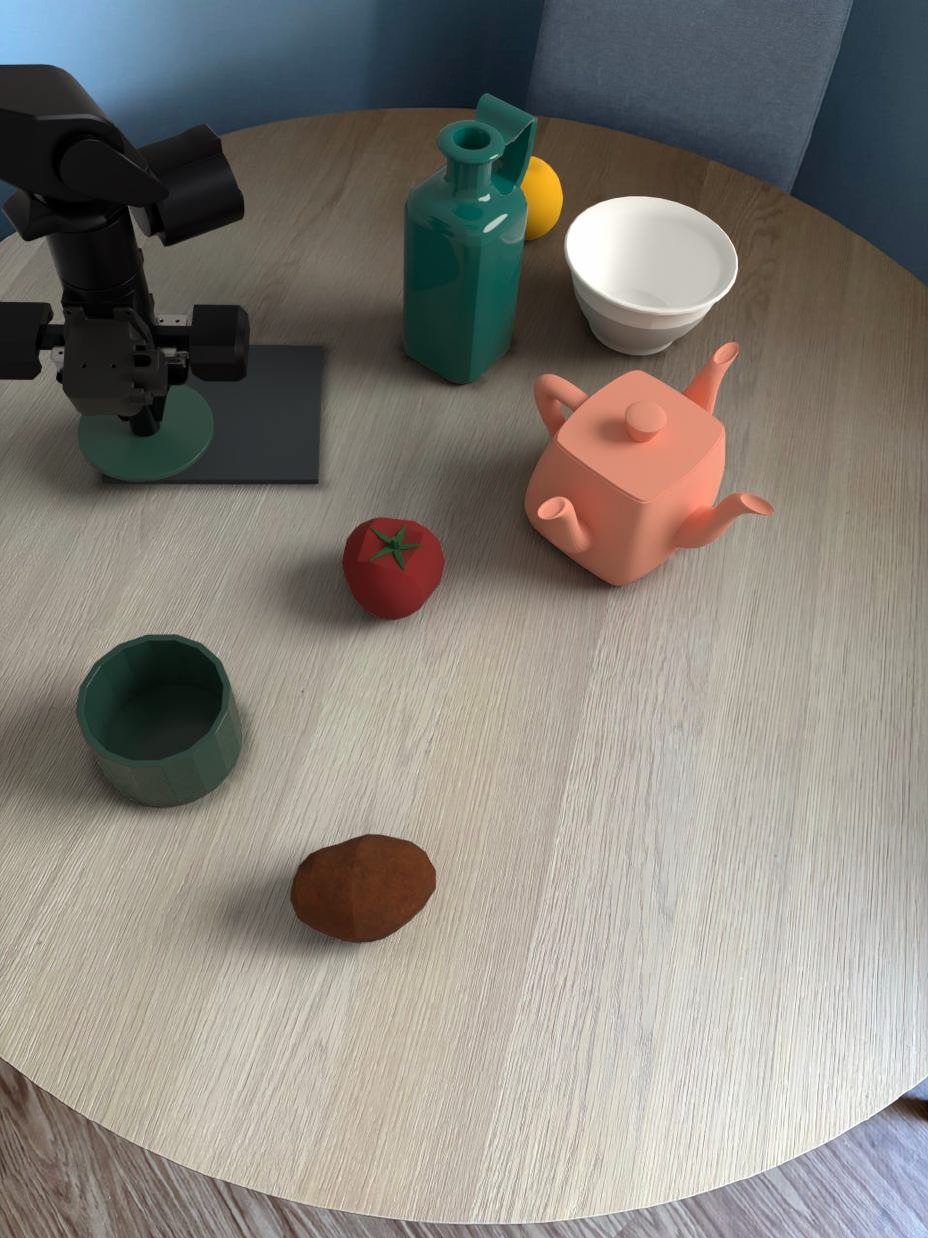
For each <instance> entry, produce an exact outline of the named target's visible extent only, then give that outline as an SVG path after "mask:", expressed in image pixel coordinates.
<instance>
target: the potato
mask: <svg viewBox="0 0 928 1238" xmlns="http://www.w3.org/2000/svg"><path fill="white" fill-rule="evenodd" d="M436 890H437V869H436V868H435V866H434V864H433V863H432V861H431V860H430V857H429V855H428V854H427V851H425V849H423V848H421V847H420V846H419V845H418V844H416V843H414V842H413V841H412V840H411V841H410V840H407V839H403V838H399V837H395V836H389V835H385V834H381V833H379V834H378V833H366V834H362V835H359V836H355V837H351V838H349V839H346V840H345V841H342V842H339V843H336V844H331V845H328V846H325V847H324V846H323V847H322V848H320V849H317V850H315V851H313V852H311V853H309V854H308V855H307V856H306V857H305V858H304V859H303V860H302V861H301V862H300V863H299V864H298V866H297V870H296V872H295V874H294V877H293V879H292V884H291V888H290V893H289V902H290V904H291V907H292V910H293V912H294V914H295V917H296V918H297V920H298V921H299V922H301V924H304V925H305V926H307V927H309V928H310V929H312V930H314V931H316V932H318V933H320V934H323V935H325V936H327V937H329V938H332V939H336V940H340V941H342V942H345V943H353V944H354V943H355V944H365V943H373V942H378V941H380V940H384V939H387V938H388V937H389V936H392V935H393V934H395V933H397V932H398V931H399V930H401V929H402V928H403V927H404V926H405V925H406V924H409V923H410V922H411V921H413V919H414V918H415V917H416V916H417V915H418V914H419V913H420V912H421V911H422V910H423V909H425V906H426V905H427V904H428V902H429V899H431V897H432V895H433V894H434V892H435V891H436Z"/></svg>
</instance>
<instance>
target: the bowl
mask: <svg viewBox="0 0 928 1238" xmlns="http://www.w3.org/2000/svg"><path fill="white" fill-rule="evenodd" d="M563 252H564V257H565V258H564V259H565V261H566V263H567V266H568V267H569V270H570V272H571V278H572V285H573V286H572V287H573V292H574V295H575V298H576V300H577V302H578V305H579V307H580V309H581V311H582V313H583V315H584V317H585V318H586V320H587V321H588V323H589V328H590V330H591V332H592V334H593V335H594V337H595V338H596V339H597V340H598V341H599V342H601V344H603V345H604V346H606V347H608V348H609V349H611V350H614V351H615V352H618V353H621V354H625V355H631V356H649V355H653V354H657V353H660V352H662V351H663V350H665V349H666V348H668V347H669V346H670V345H671V344H673V342H674V341H676V340H678V339H680V338H681V337H683V336H685V335H686V334H687V333H689V332H690V331H691V330H692V329H694V328H696V326H697V325H698V324H700V322H702V321H703V319H704V318H705V317H706V315H707V314H708V312H709V311H710V310H711V309H712V307H713V305H714V304H715V303H717V302H719V301H720V300H722V298H723V297H725V296H726V295H727V294H728V293H729V292H730V290H731V289H732V287H733V286H734V284H735V282H736V279H737V275H738V272H739V263H738V262H739V260H738V259H739V258H738V254H737V251H736V247H735V245H734V244H733V243H732V241H731V239H730V237H729V235H728V234H727V233H726V232H725V231H724V230H723V229H722V228H721V227H720V226H719V224H717V223H716V222H714V220H712V219H711V218H710V217H708V216H707V215H705V214H703V213H701V212H699V211H698V210H696V209H695V208H692V207H690V206H687V205H685V204H682V203H679V202H677V201H672V200H669V199H665V198H661V197H653V196H647V195H646V196H642V195H641V196H637V195H633V196H631V195H629V196H622V197H614V198H611V199H607V200H604V201H600V202H598V203H596V204H593V205H592V206H589V207H587V208H586V209H585V210H583V211H582V212H581V213H579V214H578V215H577V216H576V217H575V218H574V220H573V221H572V223H570V225H569V227H568V229H567V232H566V233H565V236H564V242H563Z"/></svg>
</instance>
